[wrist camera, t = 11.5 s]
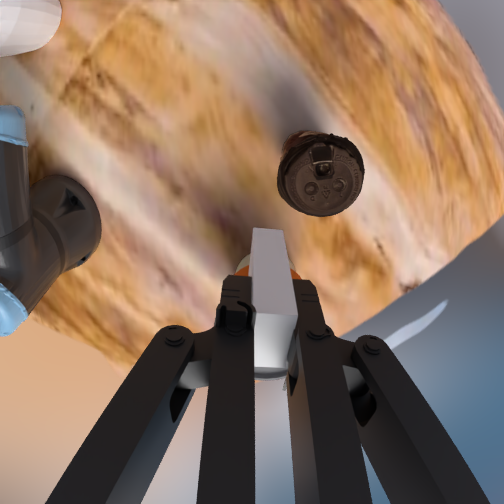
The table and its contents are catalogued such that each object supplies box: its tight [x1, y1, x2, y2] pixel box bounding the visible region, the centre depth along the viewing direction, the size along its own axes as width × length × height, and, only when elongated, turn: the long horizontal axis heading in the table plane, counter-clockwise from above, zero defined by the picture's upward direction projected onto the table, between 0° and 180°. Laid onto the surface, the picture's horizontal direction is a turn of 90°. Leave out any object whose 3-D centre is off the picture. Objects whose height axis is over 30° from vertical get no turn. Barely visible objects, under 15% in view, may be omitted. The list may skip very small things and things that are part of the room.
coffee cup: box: [277, 131, 365, 217], centre depth 34 cm, size 9×8×13 cm
